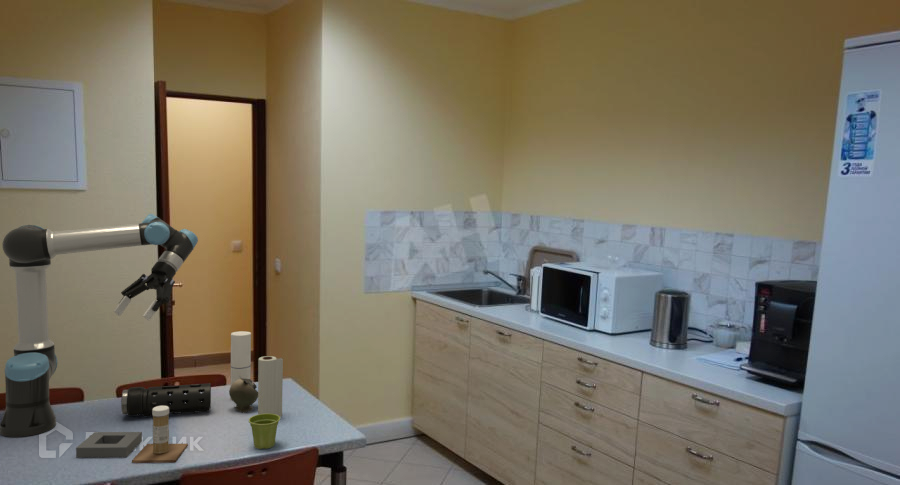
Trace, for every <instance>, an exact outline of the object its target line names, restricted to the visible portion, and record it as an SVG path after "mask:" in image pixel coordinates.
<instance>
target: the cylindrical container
mask: <svg viewBox="0 0 900 485" xmlns="http://www.w3.org/2000/svg"><path fill="white" fill-rule="evenodd" d="M251 342H252V332H250V331H244V330H243V331H242V330H240V331H233V332H231V333H230V386H231V385H232V384H233V383H234V382H235V381H236V380H238V379H240V377H241V378H244V379H251V374H252V373H251V371H252V370H251V369H252V366H251V365H252V364H251V363H252V362H251V361H252V360H251V359H252V358H251V357H252V356H251V354H252V350H251V349H252V348H251V347H252V346H251V345H252V343H251ZM239 376H240V377H239ZM229 397H230V396H229ZM230 401H232V399H231V397H230Z"/></svg>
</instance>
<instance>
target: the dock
mask: <svg viewBox="0 0 900 485" xmlns="http://www.w3.org/2000/svg"><path fill="white" fill-rule="evenodd" d="M142 441H143V431H94V432H93V433H91V435H89V436H88V437H87V438H86V439H85V440H84V441H82V442H81V443H79V444H78V446H76V448H75V451H76V452H75V453H76V454H75V458H77V459H78V458H79V459H80V458H82V459H83V458H85V459H86V458H87V459H89V458H90V459H92V458H95V459H96V458H97V459H98V458H103V459H104V458H128V456H129V455H130V454H131V453H132V452H133V451H134V450H135V449H136V448H137V447H138V446H139V445H140V444H141V443H142Z"/></svg>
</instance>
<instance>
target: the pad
mask: <svg viewBox="0 0 900 485" xmlns="http://www.w3.org/2000/svg"><path fill="white" fill-rule="evenodd" d="M187 446H189V444H188V443H169V451H168V452H166V453H163V454H155V453H153V443H146V445H144V446H143V448H142V449H141V450H140V451H139V452H138V453H137V455H135V456H134V457H133V459H132V460H131V463H132V464H161V463H162V464H168V463H169V464H170V463H171V464H173V463H176V462H177V461H178V460H179V459H180V458H181V456H182V455H183V454H184V452H185V450H186V449H187V448H188V447H187Z"/></svg>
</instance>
